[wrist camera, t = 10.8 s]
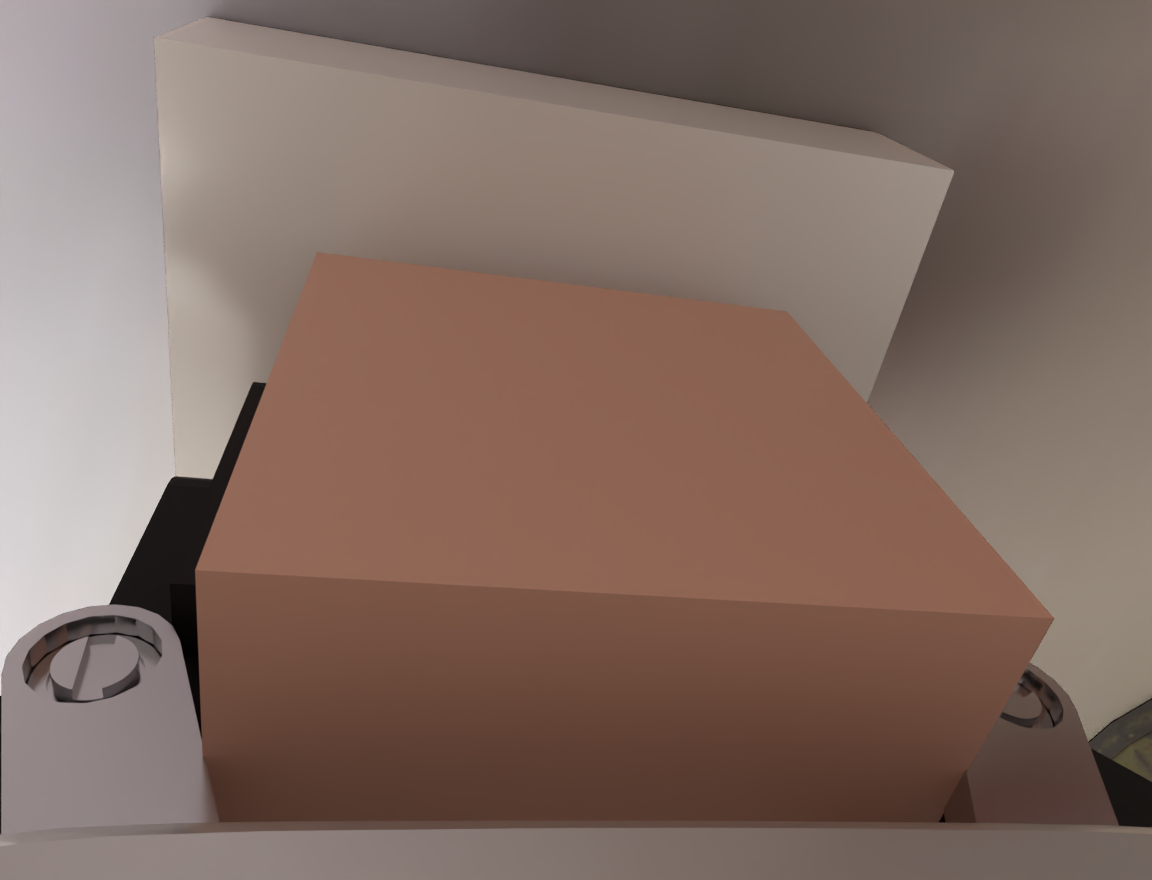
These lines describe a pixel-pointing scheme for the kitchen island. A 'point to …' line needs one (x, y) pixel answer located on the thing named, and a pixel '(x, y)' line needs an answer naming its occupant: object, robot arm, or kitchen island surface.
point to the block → (500, 200)
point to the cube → (585, 571)
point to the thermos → (1129, 741)
